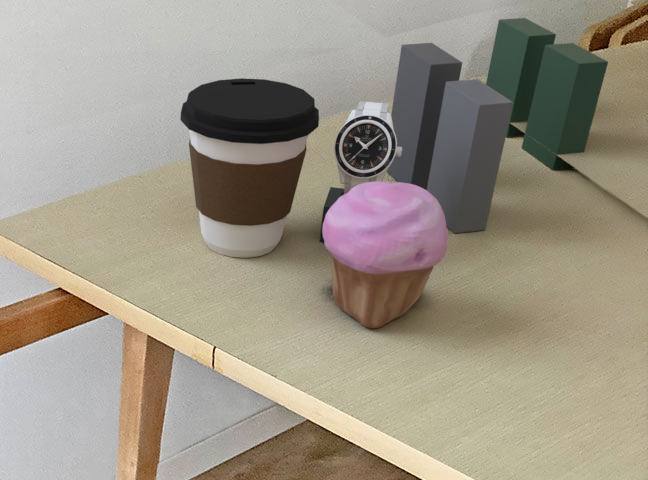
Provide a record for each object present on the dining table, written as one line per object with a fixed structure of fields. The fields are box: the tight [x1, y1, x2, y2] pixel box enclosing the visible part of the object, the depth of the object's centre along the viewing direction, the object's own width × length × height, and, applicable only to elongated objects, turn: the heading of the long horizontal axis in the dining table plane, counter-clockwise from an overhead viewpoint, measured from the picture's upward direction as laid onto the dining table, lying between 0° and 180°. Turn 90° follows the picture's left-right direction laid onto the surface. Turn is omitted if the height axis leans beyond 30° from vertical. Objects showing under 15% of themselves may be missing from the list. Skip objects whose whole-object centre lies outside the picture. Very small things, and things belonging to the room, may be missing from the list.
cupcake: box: [322, 181, 448, 329], centre depth 79 cm, size 9×9×10 cm
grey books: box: [386, 42, 513, 234], centre depth 95 cm, size 15×3×12 cm, turn 14°
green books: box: [485, 17, 609, 171], centre depth 107 cm, size 15×3×10 cm, turn 14°
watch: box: [319, 100, 402, 243], centre depth 89 cm, size 6×8×11 cm
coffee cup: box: [179, 77, 320, 259], centre depth 87 cm, size 11×11×12 cm
